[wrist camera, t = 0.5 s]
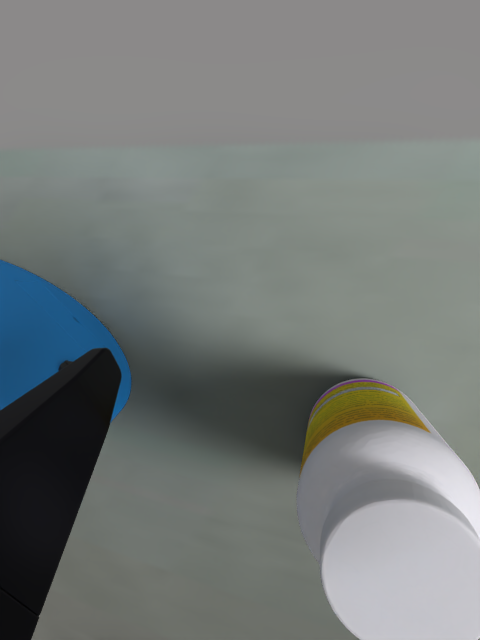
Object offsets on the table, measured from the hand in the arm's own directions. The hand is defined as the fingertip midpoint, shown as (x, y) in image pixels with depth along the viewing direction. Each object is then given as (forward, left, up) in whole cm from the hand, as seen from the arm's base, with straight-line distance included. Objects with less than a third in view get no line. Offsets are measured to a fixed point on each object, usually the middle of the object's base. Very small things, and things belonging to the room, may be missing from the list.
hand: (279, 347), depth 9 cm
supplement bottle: (-7, 0, -15) cm, 17 cm away
